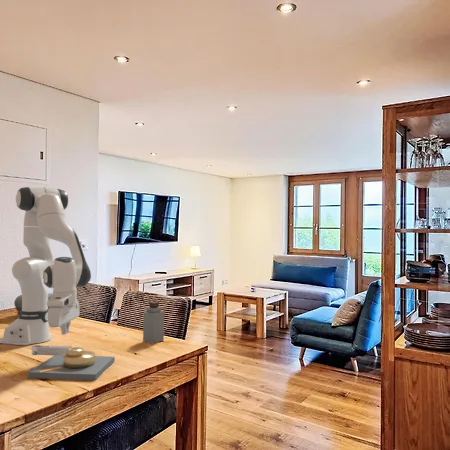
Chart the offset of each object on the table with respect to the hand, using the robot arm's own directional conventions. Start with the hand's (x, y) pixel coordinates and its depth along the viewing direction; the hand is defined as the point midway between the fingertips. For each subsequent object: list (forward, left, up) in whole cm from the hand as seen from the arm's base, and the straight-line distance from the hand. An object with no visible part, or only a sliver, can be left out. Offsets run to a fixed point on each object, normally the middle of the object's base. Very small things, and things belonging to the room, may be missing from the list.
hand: (65, 333), depth 161 cm
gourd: (-53, +78, -11) cm, 95 cm away
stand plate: (+7, -9, -11) cm, 16 cm away
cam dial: (+3, -9, -8) cm, 13 cm away
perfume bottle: (+27, +33, -11) cm, 45 cm away
